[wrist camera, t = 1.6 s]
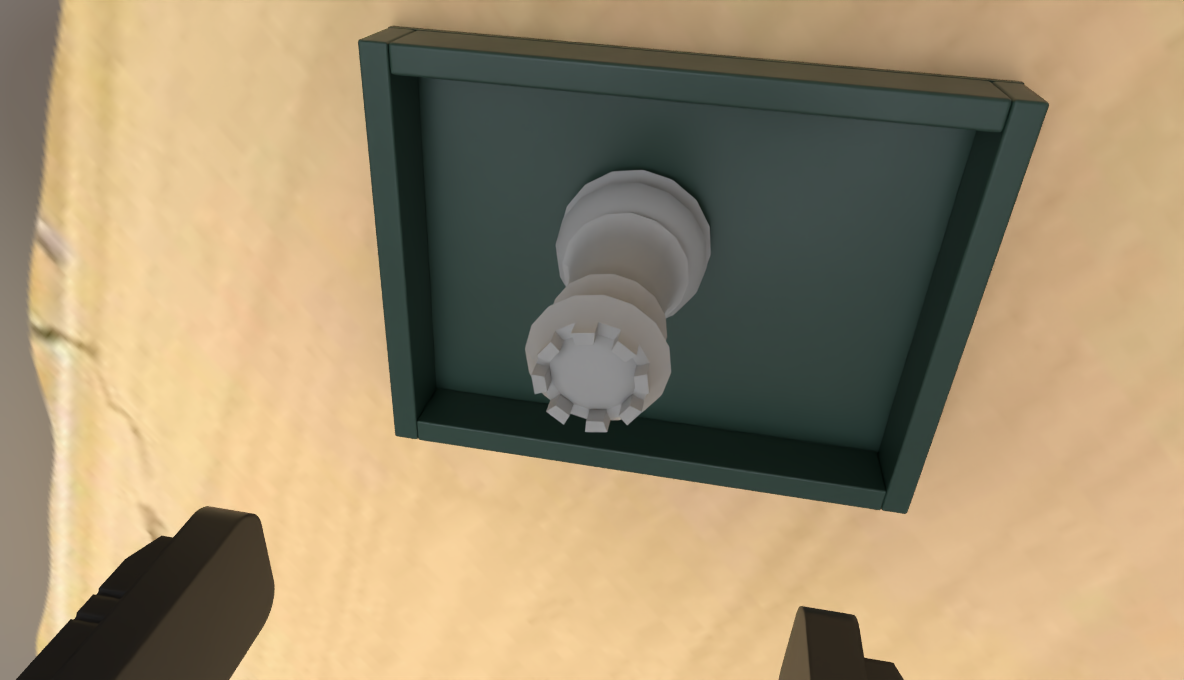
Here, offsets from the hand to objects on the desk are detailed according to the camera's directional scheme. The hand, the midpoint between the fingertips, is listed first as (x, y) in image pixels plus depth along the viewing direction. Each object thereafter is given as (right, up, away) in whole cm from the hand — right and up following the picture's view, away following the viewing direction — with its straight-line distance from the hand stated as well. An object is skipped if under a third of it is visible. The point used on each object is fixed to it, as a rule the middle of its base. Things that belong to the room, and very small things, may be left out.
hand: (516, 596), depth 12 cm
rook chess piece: (+2, +7, +12) cm, 14 cm away
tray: (+3, +6, +12) cm, 14 cm away
